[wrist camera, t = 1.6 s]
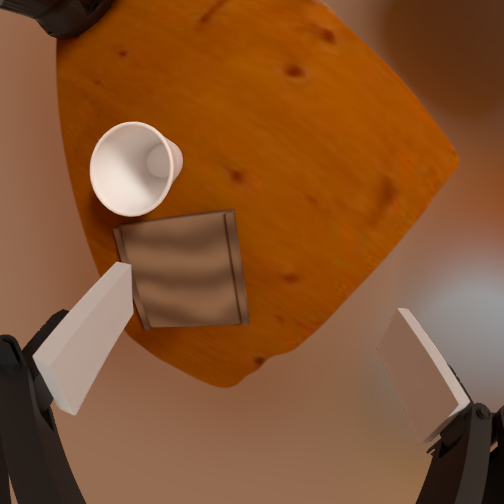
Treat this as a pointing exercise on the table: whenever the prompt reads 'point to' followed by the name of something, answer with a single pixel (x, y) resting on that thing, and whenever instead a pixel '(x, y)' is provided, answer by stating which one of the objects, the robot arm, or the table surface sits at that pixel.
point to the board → (185, 269)
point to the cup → (134, 168)
